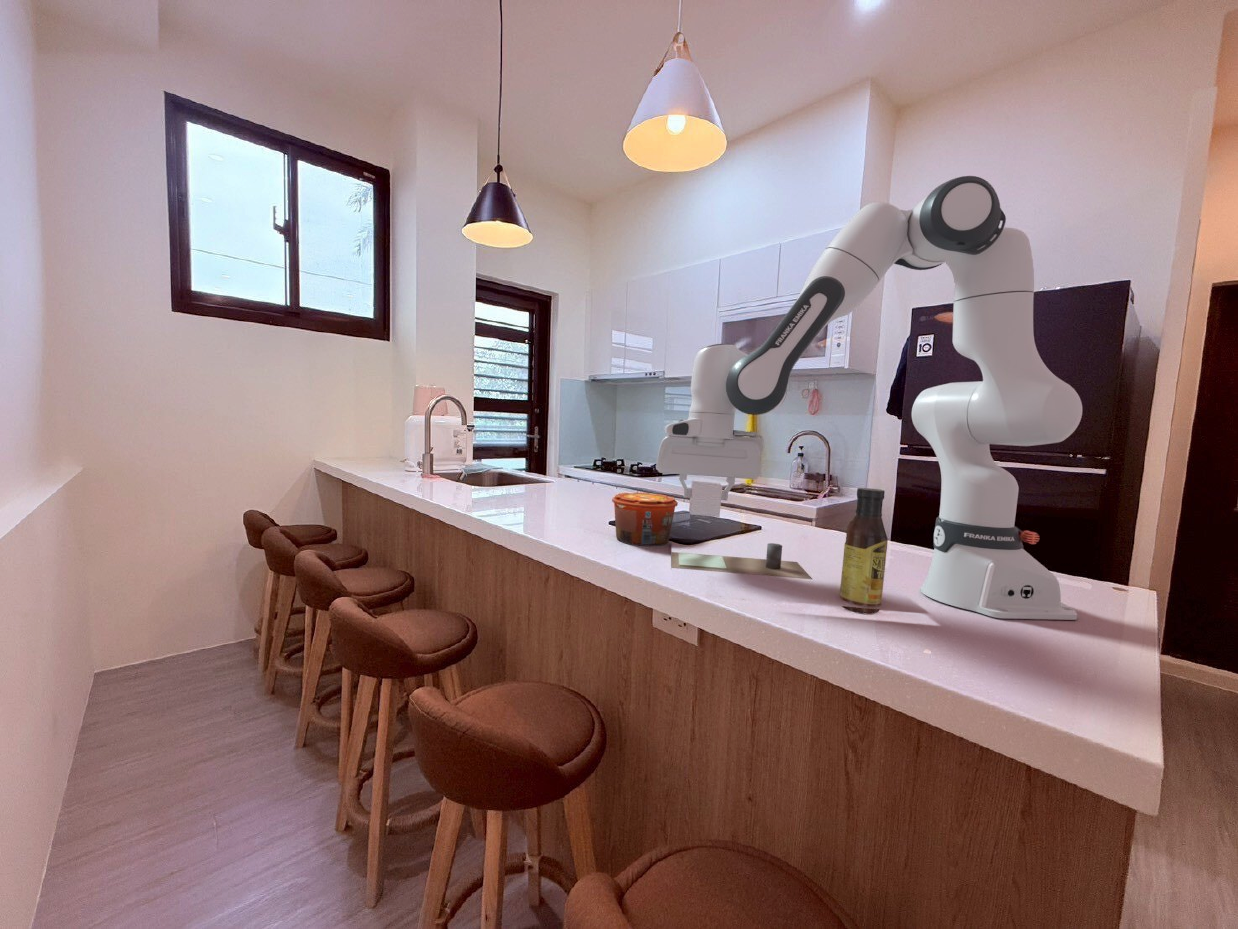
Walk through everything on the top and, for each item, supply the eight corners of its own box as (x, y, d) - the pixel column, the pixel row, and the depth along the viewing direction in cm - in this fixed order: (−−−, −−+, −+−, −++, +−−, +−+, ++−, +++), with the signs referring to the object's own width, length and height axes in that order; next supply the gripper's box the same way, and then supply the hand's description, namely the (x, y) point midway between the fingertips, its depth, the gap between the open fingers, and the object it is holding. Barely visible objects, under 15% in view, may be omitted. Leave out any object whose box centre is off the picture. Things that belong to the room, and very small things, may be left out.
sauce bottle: (876, 619, 81) (888, 493, 79) (834, 608, 84) (845, 488, 83) (884, 608, 86) (896, 489, 84) (844, 599, 90) (855, 485, 88)
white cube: (716, 512, 105) (719, 483, 104) (719, 517, 99) (722, 486, 99) (689, 509, 105) (691, 480, 105) (690, 514, 100) (692, 483, 99)
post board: (796, 568, 107) (798, 540, 107) (811, 586, 95) (814, 555, 95) (671, 558, 110) (672, 531, 109) (670, 575, 98) (672, 544, 97)
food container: (686, 540, 129) (689, 497, 128) (654, 552, 115) (657, 504, 115) (632, 530, 137) (634, 490, 137) (596, 539, 124) (599, 495, 123)
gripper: (761, 431, 103) (756, 500, 104) (659, 425, 105) (654, 492, 106) (767, 432, 97) (761, 505, 98) (658, 425, 99) (653, 497, 100)
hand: (705, 498), depth 102 cm, fingers closed on white cube, 6 cm apart
